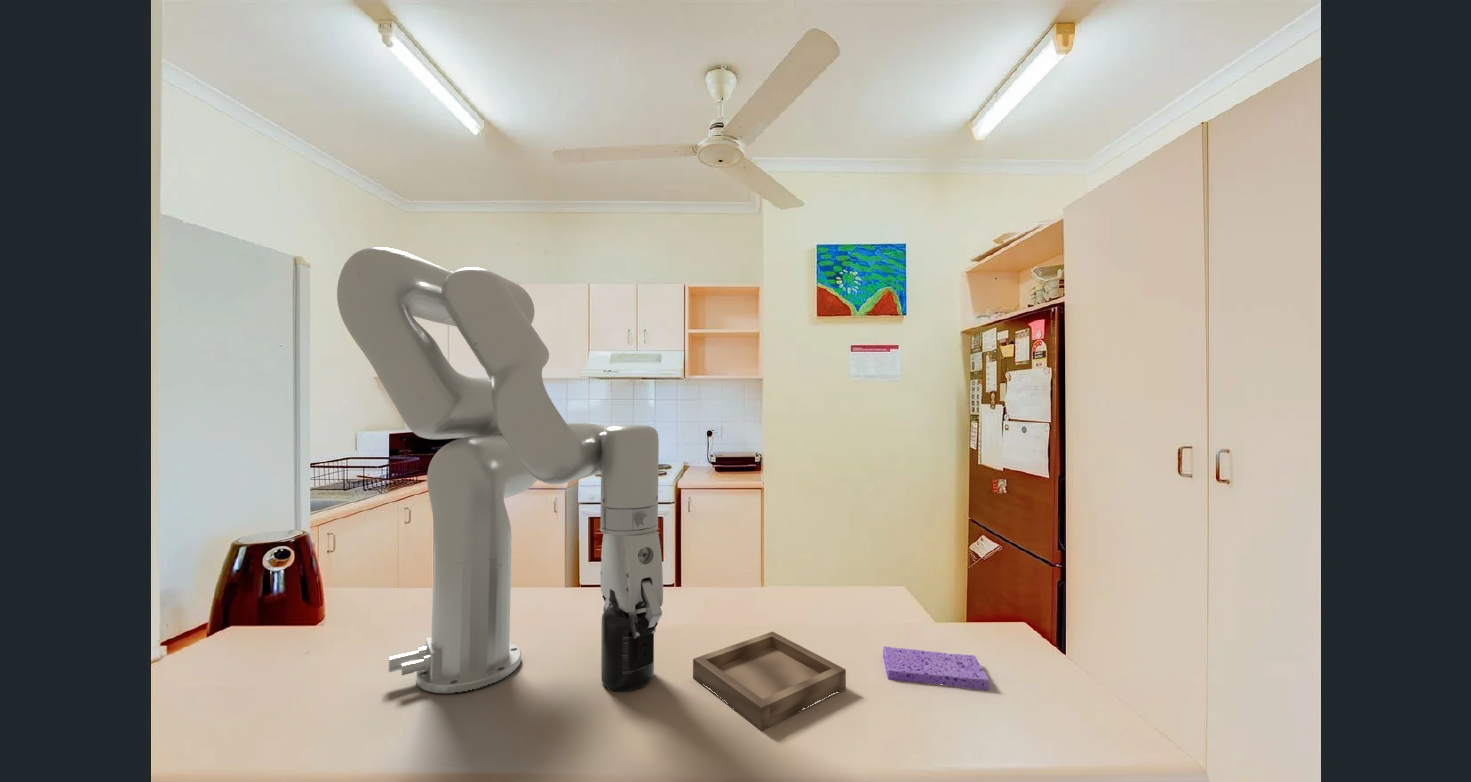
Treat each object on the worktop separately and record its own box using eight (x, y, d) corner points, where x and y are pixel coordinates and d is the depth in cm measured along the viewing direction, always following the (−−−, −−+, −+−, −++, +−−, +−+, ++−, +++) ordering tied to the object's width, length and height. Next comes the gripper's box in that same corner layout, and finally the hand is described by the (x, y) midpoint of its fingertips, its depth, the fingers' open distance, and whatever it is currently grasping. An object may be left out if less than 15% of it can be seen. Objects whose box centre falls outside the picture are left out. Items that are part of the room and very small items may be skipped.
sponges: (989, 695, 64) (989, 680, 64) (886, 683, 67) (886, 668, 67) (975, 668, 71) (975, 654, 71) (882, 658, 74) (882, 645, 74)
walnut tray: (761, 731, 56) (761, 707, 56) (692, 678, 67) (693, 658, 67) (845, 689, 64) (845, 669, 65) (772, 648, 76) (772, 631, 76)
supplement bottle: (659, 667, 70) (660, 578, 70) (645, 694, 63) (647, 596, 64) (611, 664, 71) (612, 577, 71) (592, 691, 64) (593, 594, 64)
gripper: (688, 525, 63) (686, 672, 62) (627, 505, 77) (625, 625, 76) (632, 534, 59) (630, 692, 58) (578, 511, 72) (576, 638, 72)
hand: (627, 653), depth 67 cm, fingers closed on supplement bottle, 6 cm apart
